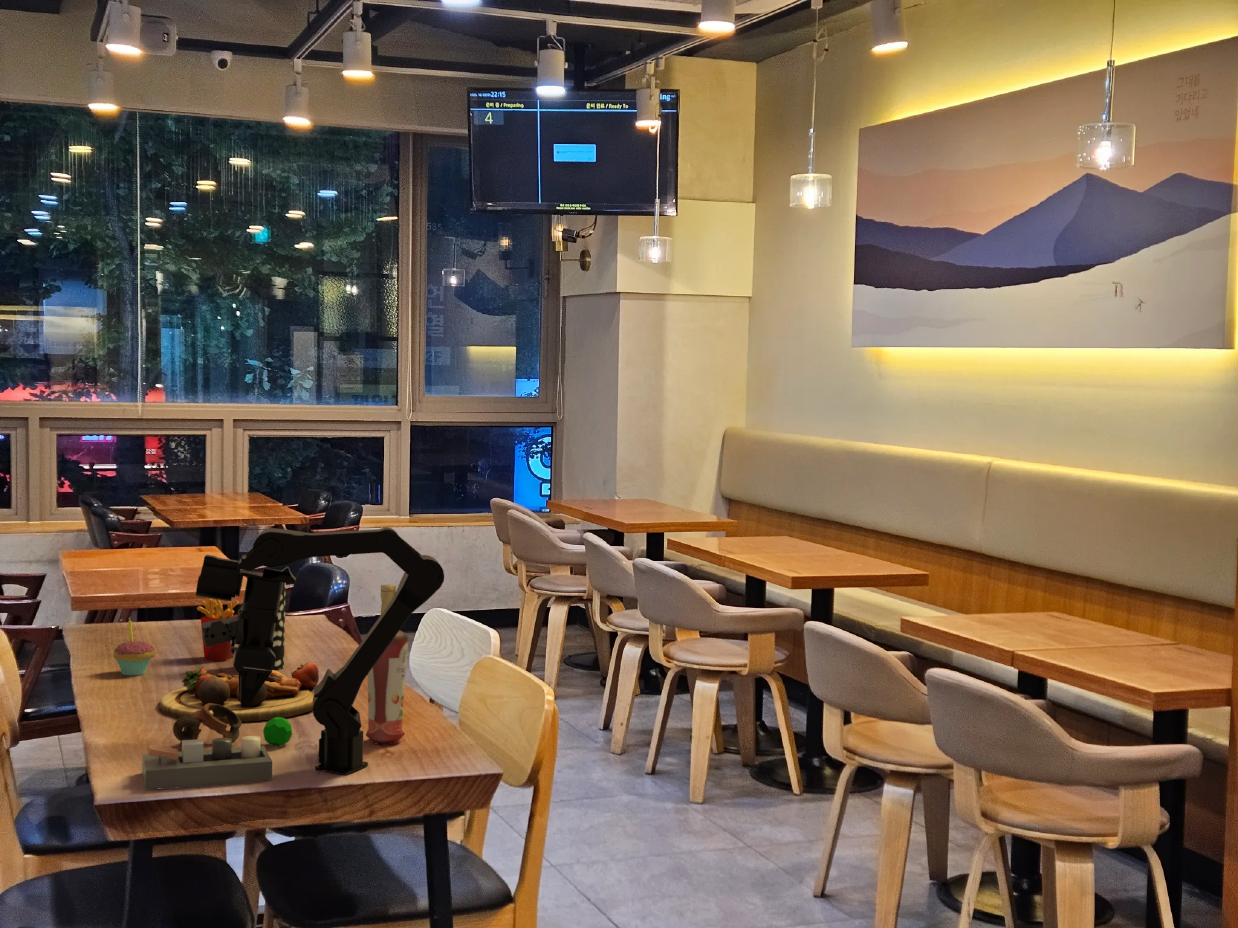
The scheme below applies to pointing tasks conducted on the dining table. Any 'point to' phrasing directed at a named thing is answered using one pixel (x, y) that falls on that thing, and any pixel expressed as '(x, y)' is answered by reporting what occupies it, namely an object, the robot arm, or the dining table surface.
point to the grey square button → (192, 751)
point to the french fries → (221, 649)
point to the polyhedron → (277, 731)
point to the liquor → (387, 685)
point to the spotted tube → (280, 633)
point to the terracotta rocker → (163, 752)
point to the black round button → (221, 749)
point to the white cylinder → (250, 747)
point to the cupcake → (133, 655)
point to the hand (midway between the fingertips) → (243, 700)
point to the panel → (205, 770)
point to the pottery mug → (207, 723)
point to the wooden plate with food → (223, 689)
